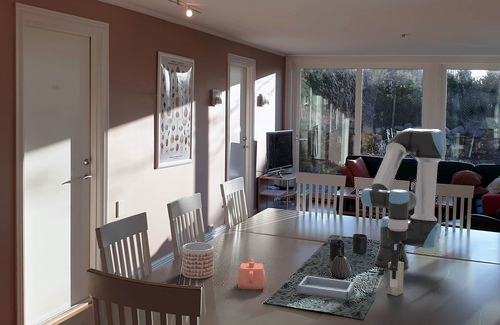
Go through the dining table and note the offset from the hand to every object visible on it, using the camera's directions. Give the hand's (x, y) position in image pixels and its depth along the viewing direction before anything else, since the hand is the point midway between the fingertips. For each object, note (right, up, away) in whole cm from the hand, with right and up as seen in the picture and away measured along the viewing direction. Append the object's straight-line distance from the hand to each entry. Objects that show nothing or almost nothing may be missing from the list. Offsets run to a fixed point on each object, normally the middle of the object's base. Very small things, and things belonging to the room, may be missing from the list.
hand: (395, 281), depth 203 cm
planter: (-81, -2, +22) cm, 84 cm away
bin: (-27, -5, +2) cm, 28 cm away
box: (0, -5, +1) cm, 5 cm away
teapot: (-57, -4, +8) cm, 58 cm away
